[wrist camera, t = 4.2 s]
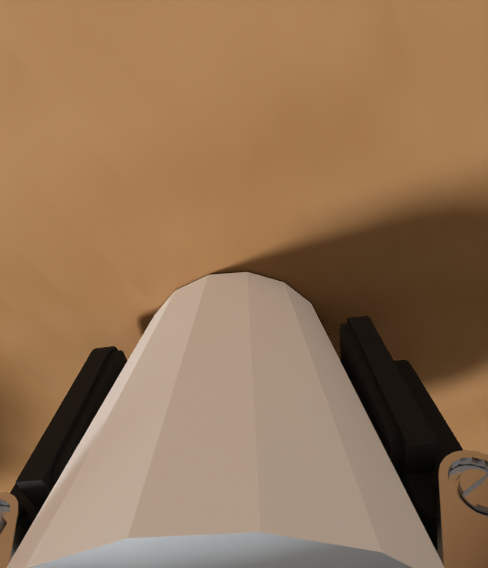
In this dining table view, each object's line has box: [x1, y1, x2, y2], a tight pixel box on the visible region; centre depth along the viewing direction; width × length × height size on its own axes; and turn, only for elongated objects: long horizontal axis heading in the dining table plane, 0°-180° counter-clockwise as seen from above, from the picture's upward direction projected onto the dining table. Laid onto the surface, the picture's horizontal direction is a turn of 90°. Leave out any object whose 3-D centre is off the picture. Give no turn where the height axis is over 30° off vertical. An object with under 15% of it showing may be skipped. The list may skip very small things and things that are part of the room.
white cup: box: [7, 272, 445, 568], centre depth 8 cm, size 7×7×7 cm
